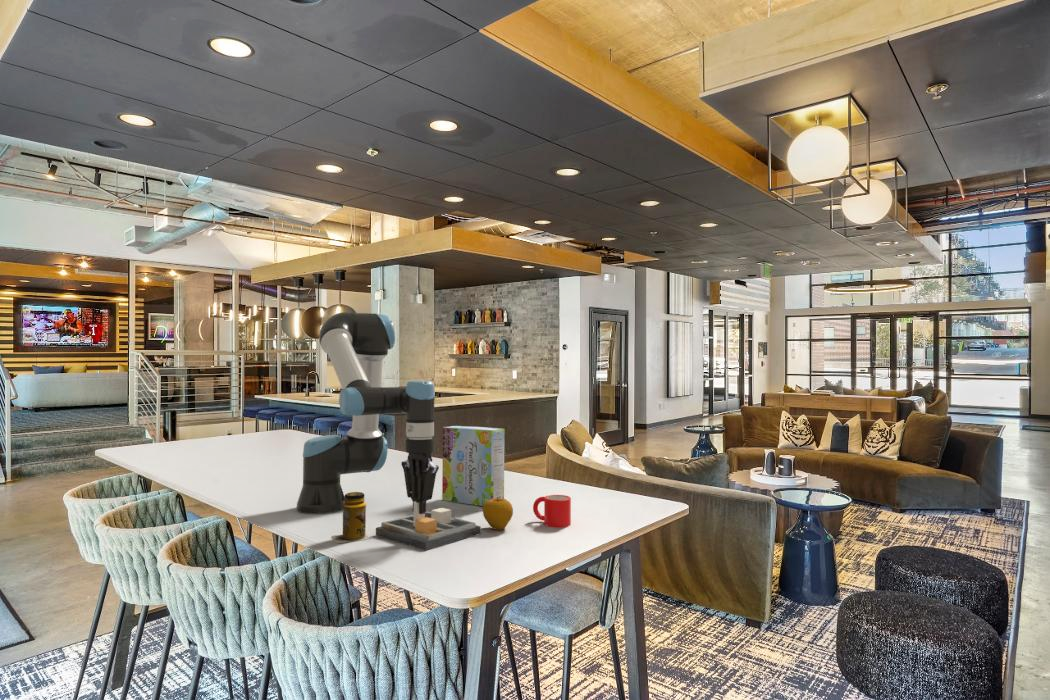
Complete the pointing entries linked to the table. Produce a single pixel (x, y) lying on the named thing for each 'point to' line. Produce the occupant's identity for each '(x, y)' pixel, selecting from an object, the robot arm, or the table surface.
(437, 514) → the block
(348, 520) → the condiment
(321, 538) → the table surface
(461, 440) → the snack box
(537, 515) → the mug
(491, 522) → the apple
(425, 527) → the fader orange
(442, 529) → the grey slotted tray
